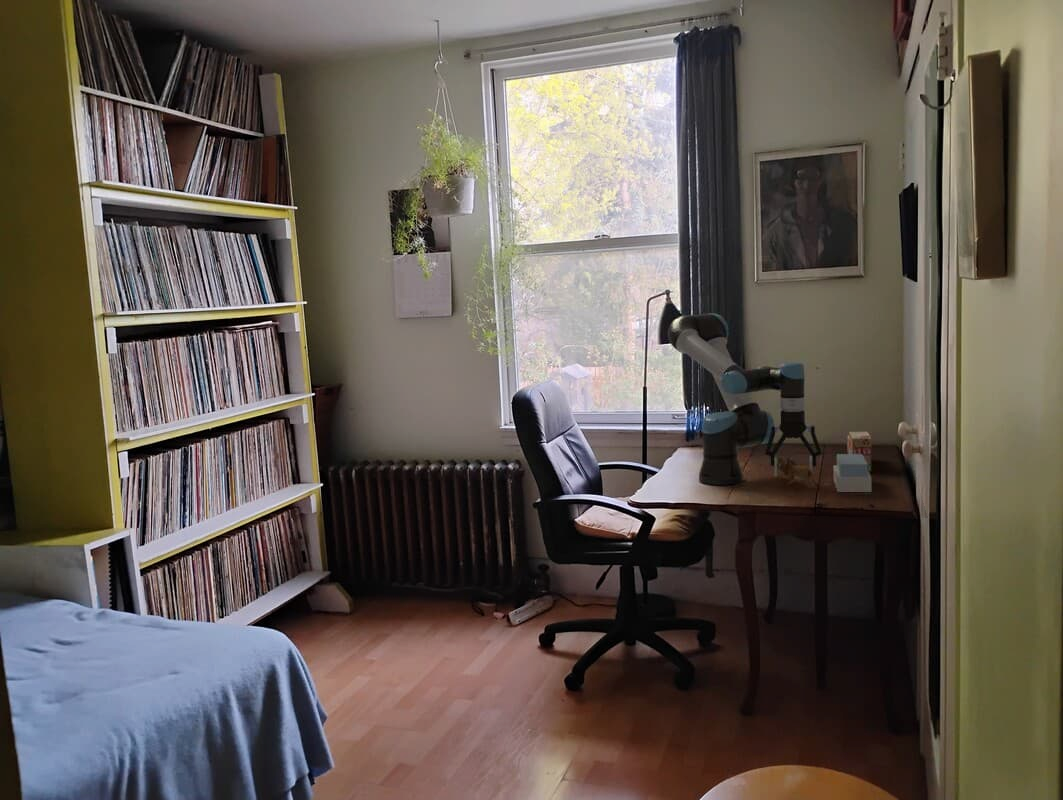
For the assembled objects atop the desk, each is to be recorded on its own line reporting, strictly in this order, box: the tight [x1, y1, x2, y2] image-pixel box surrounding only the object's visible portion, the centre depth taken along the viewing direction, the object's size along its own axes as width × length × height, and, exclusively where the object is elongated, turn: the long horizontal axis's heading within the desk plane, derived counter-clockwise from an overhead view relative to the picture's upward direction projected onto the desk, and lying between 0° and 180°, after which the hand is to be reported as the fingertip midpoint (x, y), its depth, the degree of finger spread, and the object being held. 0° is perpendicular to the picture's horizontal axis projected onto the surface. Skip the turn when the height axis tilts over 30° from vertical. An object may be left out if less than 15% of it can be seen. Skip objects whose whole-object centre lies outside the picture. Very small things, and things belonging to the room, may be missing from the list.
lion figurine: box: [777, 455, 820, 489], centre depth 279 cm, size 15×5×9 cm, turn 45°
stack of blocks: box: [846, 431, 872, 472], centre depth 304 cm, size 21×6×12 cm, turn 164°
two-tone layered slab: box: [832, 453, 872, 493], centre depth 275 cm, size 10×18×9 cm, turn 164°
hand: (793, 475), depth 280 cm, fingers closed on lion figurine, 10 cm apart
